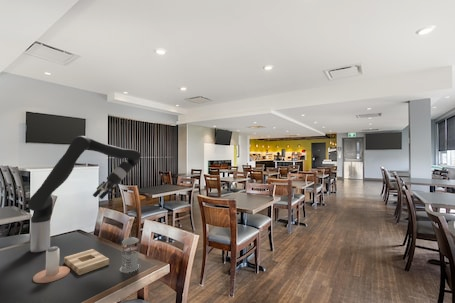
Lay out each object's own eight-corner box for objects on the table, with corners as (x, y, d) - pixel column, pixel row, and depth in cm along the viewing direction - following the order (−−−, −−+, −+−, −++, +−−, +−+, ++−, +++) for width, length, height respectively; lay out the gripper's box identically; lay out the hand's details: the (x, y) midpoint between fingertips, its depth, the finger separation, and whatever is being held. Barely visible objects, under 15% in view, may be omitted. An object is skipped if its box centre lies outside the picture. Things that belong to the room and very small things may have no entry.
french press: (127, 274, 113) (128, 222, 113) (113, 268, 119) (113, 218, 119) (144, 266, 121) (144, 217, 121) (130, 260, 127) (130, 214, 128)
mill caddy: (64, 262, 125) (64, 257, 125) (92, 254, 136) (92, 248, 136) (79, 275, 112) (79, 268, 112) (108, 264, 123) (109, 258, 123)
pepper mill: (44, 273, 112) (44, 248, 112) (57, 269, 116) (57, 245, 116) (47, 277, 109) (47, 251, 109) (60, 272, 113) (61, 247, 113)
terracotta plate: (29, 276, 111) (29, 274, 111) (64, 265, 122) (64, 263, 122) (37, 286, 102) (37, 284, 102) (74, 274, 113) (74, 272, 113)
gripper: (107, 171, 148) (87, 191, 139) (118, 172, 139) (97, 194, 130) (115, 179, 152) (96, 199, 143) (126, 180, 143) (107, 202, 134)
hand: (97, 197), depth 136 cm, fingers open, 8 cm apart
